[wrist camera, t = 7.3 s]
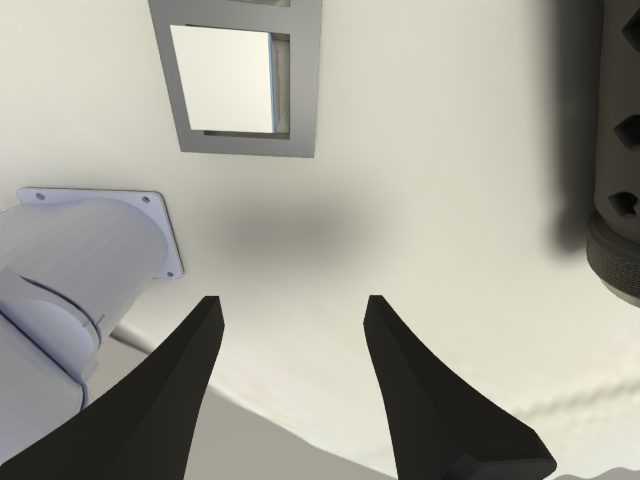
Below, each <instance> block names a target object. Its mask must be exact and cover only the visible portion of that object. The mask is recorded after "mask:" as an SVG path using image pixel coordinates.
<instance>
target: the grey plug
mask: <svg viewBox="0 0 640 480" xmlns="http://www.w3.org/2000/svg"><path fill="white" fill-rule="evenodd" d="M170 28H171V33H172V38H173V43H174V48H175V52H176V57H177V62H178V67H179V72H180V77H181V82H182V87H183V92H184V97H185V101H186V106H187V111H188V116H189V121H190V126H191V129H193V130H217V131H240V132H264V133H274V132H275V127H276V125H277V124H278V122H279V120H280V89H279V56H278V49H277V48H276V46H275V44H274V43H273V41H272V36H271V34H270V33H266V32H253V31H241V30H228V29H215V28H202V27H189V26H176V25H170Z"/></svg>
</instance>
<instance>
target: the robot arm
mask: <svg viewBox="0 0 640 480" xmlns="http://www.w3.org/2000/svg"><path fill="white" fill-rule="evenodd" d="M16 194H17V196H18V198H19V200H20V201H21V203H22V204H21V205H19V206H16V207H14V208H12V209H9V210H7V211H5V212H2V213H0V480H183V479H184V474H185V469H186V464H187V460H188V455H189V451H190V447H191V442H192V438H193V433H194V430H195V426H196V422H197V417H198V413H199V409H200V405H201V402H202V399H203V396H204V393H205V390H206V387H207V384H208V382H209V379H210V376H211V373H212V370H213V367H214V364H215V361H216V358H217V355H218V352H219V349H220V346H221V341H222V337H223V332H224V327H225V324H224V319H223V314H222V309H221V304H220V299H219V296H205V297H204V298H203V299H202V300H201V301H200V302H199V303H198V304H197V306H196V307H195V308H194V309H193V310H192V311H191V313H190V314H189V315H188V316H187V317H186V318H185V319H184V320H183V321H182V323H181V324H180V325H179V326H178V327H177V328H176V329H175V330H174V331H173V332H172V333H171V334H170V335H169V336H168V337H167V338H166V339H165V340H164V341H163V342H162V343H161V344H160V345H159V346H158V347H157V348H156V349H155V350H154V351H153V352H152V353H151V354H150V355H149V356H148V357H147V358H146V359H145V360H144V361H143V362H142V363H140V364H139V365H138V366H137V367H136V368H135V369H134V370H132V372H130V373H129V374H128V375H127V376H125V377H124V378H123V379H122V380H121V381H119V382H118V383H117V384H116V385H114V386H113V387H112V388H111V389H110V390H108V391H107V392H106V393H105V394H103V395H102V396H101V397H99V398H98V399H97V400H95V401H94V402H93V394H92V391H91V389H90V388H89V386H88V385H87V382H88V380H89V379H90V378H91V377H92V375H93V373H94V372H95V371H96V369H97V368H98V367H99V365H100V363H99V362H98V360H97V359H96V352H97V350H98V349H99V348H100V347H101V345H102V344H103V343H104V341H105V340H106V339H107V337H108V336H109V335H110V333H111V332H112V331H113V329H114V328H115V327H116V325H117V324H118V323H119V322H120V320H121V319H122V318H123V316H124V315H125V314H126V312H127V311H128V310H129V308H130V307H131V306H132V304H133V303H134V302H135V300H136V299H137V298H138V296H139V295H140V294H141V293H142V291H143V290H144V289H145V287H146V286H147V285H148V283H149V282H150V281H151V279H178V278H181V277H182V275H183V274H184V272H183V268H182V265H181V261H180V258H179V254H178V251H177V247H176V244H175V240H174V237H173V233H172V230H171V226H170V223H169V219H168V216H167V212H166V209H165V205H164V202H163V198H162V196H161V195H160V194H158V193H156V192H136V191H106V190H75V189H45V188H22V189H19V190H18V191H17V192H16ZM41 194H42V195H43V196H44V197H45V198H44V197H43V196H42V195H41ZM145 197H147V198H149V200H150V201H147V200H146V199H145ZM169 272H171V273H173V274H171V273H169ZM363 325H364V331H365V337H366V342H367V346H368V349H369V353H370V356H371V359H372V363H373V366H374V369H375V373H376V376H377V379H378V382H379V386H380V389H381V393H382V396H383V400H384V405H385V410H386V415H387V419H388V424H389V430H390V435H391V440H392V445H393V451H394V456H395V462H396V468H397V474H398V480H543V479H544V478H546V477H547V476H549V475H551V474H552V473H553V472H554V471H555V470H556V468H557V463H556V461H555V459H554V458H553V456H552V455H551V453H550V452H549V450H548V449H547V448H546V446H545V445H544V443H543V442H542V440H541V439H540V437H539V436H538V435H537V433H536V432H535V431H534V430H533V429H532V428H530V427H529V426H527V425H526V424H524V423H523V422H521V421H520V420H518V419H517V418H515V417H513V416H512V415H510V414H509V413H507V412H506V411H504V410H503V409H501V408H500V407H498V406H497V405H496V404H494V403H493V402H492V401H490V400H489V399H487V398H486V397H485V396H483V395H482V394H481V393H479V392H478V391H477V390H475V389H474V388H473V387H471V386H470V385H469V384H468V383H466V382H465V381H464V380H463V379H461V378H460V377H459V376H458V375H457V374H455V373H454V372H453V371H452V370H451V369H449V368H448V367H447V366H446V365H445V364H444V363H443V362H442V361H441V360H440V359H438V358H437V357H436V356H435V355H434V354H433V353H432V352H431V351H430V350H429V349H428V348H427V347H426V346H425V345H424V344H423V343H422V342H421V341H420V340H419V339H418V337H417V336H416V335H415V334H414V333H413V332H412V331H411V330H410V329H409V327H408V326H407V325H406V324H405V323H404V322H403V321H402V319H401V318H400V317H399V316H398V315H397V313H396V312H395V311H394V310H393V308H392V307H391V306H390V305H389V303H388V302H387V301H386V300H385V298H384V297H383V296H382V295H370V296H369V300H368V305H367V309H366V313H365V318H364V322H363Z"/></svg>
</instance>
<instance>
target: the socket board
mask: <svg viewBox="0 0 640 480" xmlns="http://www.w3.org/2000/svg"><path fill="white" fill-rule="evenodd" d="M148 4H149V8H150V13H151V17H152V22H153V26H154V31H155V35H156V40H157V44H158V49H159V54H160V58H161V63H162V67H163V72H164V76H165V81H166V85H167V90H168V94H169V99H170V104H171V108H172V113H173V117H174V122H175V126H176V131H177V135H178V140H179V144H180V149H181V152H197V153H218V154H238V155H259V156H280V157H301V158H314V146H315V127H316V107H317V87H318V68H319V48H320V28H321V8H322V0H290V7H284V6H274V5H265V4H255V3H246V2H236V1H227V0H148ZM170 25H176V26H189V27H202V28H215V29H228V30H241V31H253V32H266V33H270V34H271V36H272V39H273V40H283V41H290V133H264V132H240V131H217V130H193V129H191V126H190V121H189V116H188V111H187V106H186V101H185V97H184V92H183V87H182V82H181V77H180V72H179V67H178V62H177V57H176V52H175V48H174V43H173V38H172V33H171V28H170Z"/></svg>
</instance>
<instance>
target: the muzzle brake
mask: <svg viewBox="0 0 640 480" xmlns="http://www.w3.org/2000/svg"><path fill="white" fill-rule="evenodd" d="M598 118H599V124H598V128H597V143H596V163H595V167H596V180H595V189H594V204H595V207H596V209H595V210H594V212H593V213H592V214H591V215H590V218H589V221H588V224H587V249H586V253H587V260H588V262H589V264H590V267H591V268H592V270H593V271H594V272H595V273H596V274H597V275H598V276H599V277H600V279H601V281H602V283H603V284H604V285H605V286H606V287H607V289H608V290H609V291H611V292H612V293H613V294H615V295H616V296H617V297H619V298H620V299H622V300H624V301H626V302H627V303H629V304H631V305H634V306H636V307H638V308H640V0H604V23H603V42H602V46H601V63H600V83H599V116H598Z"/></svg>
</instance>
